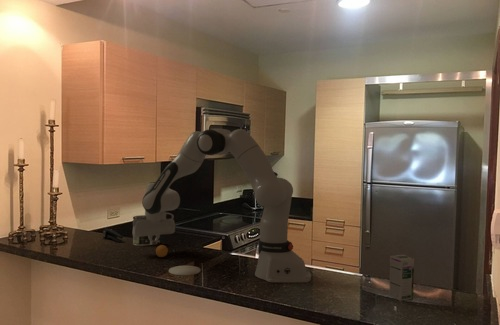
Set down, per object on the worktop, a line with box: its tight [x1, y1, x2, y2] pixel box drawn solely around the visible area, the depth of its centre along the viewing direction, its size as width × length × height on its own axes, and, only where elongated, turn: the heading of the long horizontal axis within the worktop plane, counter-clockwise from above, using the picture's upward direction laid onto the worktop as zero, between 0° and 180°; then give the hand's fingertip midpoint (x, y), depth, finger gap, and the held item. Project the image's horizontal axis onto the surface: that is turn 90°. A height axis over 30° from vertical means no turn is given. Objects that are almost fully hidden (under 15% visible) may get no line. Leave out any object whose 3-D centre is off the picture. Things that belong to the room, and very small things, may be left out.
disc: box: [168, 265, 201, 276], centre depth 167 cm, size 13×13×1 cm
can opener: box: [102, 228, 124, 244], centre depth 218 cm, size 18×7×6 cm, turn 45°
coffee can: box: [132, 214, 154, 247], centre depth 211 cm, size 10×10×14 cm
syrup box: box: [388, 254, 415, 302], centre depth 142 cm, size 6×6×14 cm
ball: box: [155, 244, 169, 258], centre depth 186 cm, size 6×6×6 cm
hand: (153, 244), depth 194 cm, fingers closed
